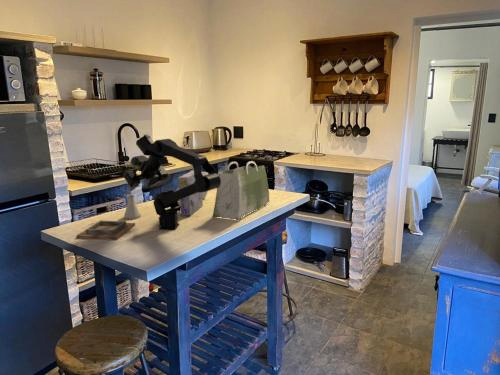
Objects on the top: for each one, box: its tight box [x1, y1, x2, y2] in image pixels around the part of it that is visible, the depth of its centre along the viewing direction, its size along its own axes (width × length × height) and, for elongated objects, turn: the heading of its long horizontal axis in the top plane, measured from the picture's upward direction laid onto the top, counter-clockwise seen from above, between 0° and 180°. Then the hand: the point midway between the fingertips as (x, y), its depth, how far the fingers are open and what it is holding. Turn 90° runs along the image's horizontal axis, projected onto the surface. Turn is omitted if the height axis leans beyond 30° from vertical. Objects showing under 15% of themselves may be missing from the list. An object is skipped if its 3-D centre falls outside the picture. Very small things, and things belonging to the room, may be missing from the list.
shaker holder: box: [76, 220, 136, 240], centre depth 146 cm, size 16×16×2 cm
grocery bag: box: [212, 160, 270, 221], centre depth 171 cm, size 32×14×23 cm, turn 152°
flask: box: [123, 193, 142, 220], centre depth 163 cm, size 7×7×10 cm
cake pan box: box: [177, 170, 204, 217], centre depth 171 cm, size 19×5×18 cm, turn 168°
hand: (139, 188), depth 157 cm, fingers open, 9 cm apart
